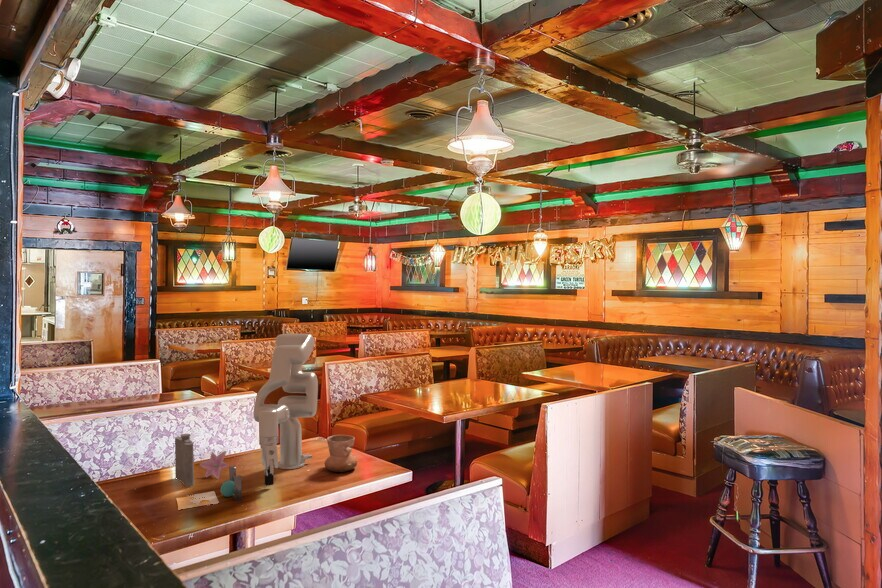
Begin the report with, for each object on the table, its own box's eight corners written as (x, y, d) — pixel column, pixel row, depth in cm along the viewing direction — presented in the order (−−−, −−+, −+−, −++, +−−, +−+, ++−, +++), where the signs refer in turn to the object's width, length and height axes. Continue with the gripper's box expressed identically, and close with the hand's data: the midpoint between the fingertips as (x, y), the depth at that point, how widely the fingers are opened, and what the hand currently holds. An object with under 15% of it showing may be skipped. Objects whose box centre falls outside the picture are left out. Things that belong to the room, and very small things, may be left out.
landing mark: (214, 491, 226) (214, 491, 226) (218, 503, 214) (218, 502, 214) (175, 498, 219) (175, 497, 219) (178, 510, 207) (178, 510, 207)
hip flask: (174, 478, 242) (173, 431, 242) (184, 476, 245) (183, 429, 245) (186, 488, 230) (186, 439, 230) (197, 485, 233) (196, 437, 233)
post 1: (235, 487, 231) (235, 465, 231) (236, 489, 229) (236, 467, 228) (228, 488, 230) (228, 466, 229) (229, 490, 227) (229, 468, 227)
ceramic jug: (364, 471, 250) (364, 438, 250) (334, 477, 242) (334, 444, 242) (345, 461, 265) (345, 431, 265) (316, 467, 256) (316, 436, 256)
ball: (232, 495, 225) (237, 480, 225) (235, 499, 219) (240, 484, 220) (217, 492, 222) (222, 477, 223) (219, 497, 217) (224, 481, 217)
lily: (198, 476, 247) (193, 461, 242) (221, 460, 256) (217, 444, 251) (215, 489, 241) (210, 474, 236) (238, 472, 250) (234, 457, 245)
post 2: (241, 497, 219) (240, 474, 219) (242, 500, 217) (242, 476, 217) (234, 499, 218) (233, 475, 218) (235, 501, 216) (234, 477, 216)
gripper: (282, 442, 225) (282, 488, 225) (274, 434, 238) (274, 477, 238) (263, 445, 221) (263, 492, 221) (255, 436, 234) (256, 480, 234)
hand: (269, 484), depth 230 cm, fingers closed
